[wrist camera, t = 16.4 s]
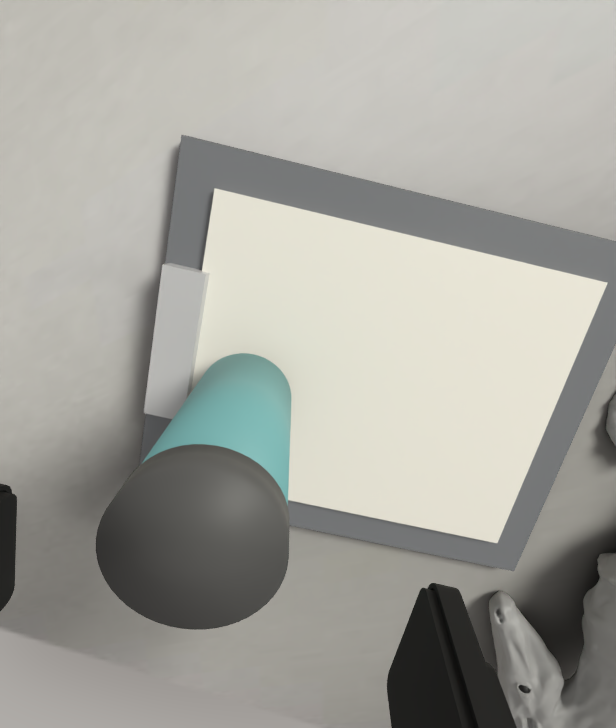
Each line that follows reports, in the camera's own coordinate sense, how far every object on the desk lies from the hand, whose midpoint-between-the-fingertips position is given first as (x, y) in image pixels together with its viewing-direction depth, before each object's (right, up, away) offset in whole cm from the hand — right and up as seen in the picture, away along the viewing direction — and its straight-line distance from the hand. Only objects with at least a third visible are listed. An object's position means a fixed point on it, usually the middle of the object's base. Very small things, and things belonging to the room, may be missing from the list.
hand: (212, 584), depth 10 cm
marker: (0, +4, +8) cm, 9 cm away
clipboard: (+5, +4, +9) cm, 11 cm away
